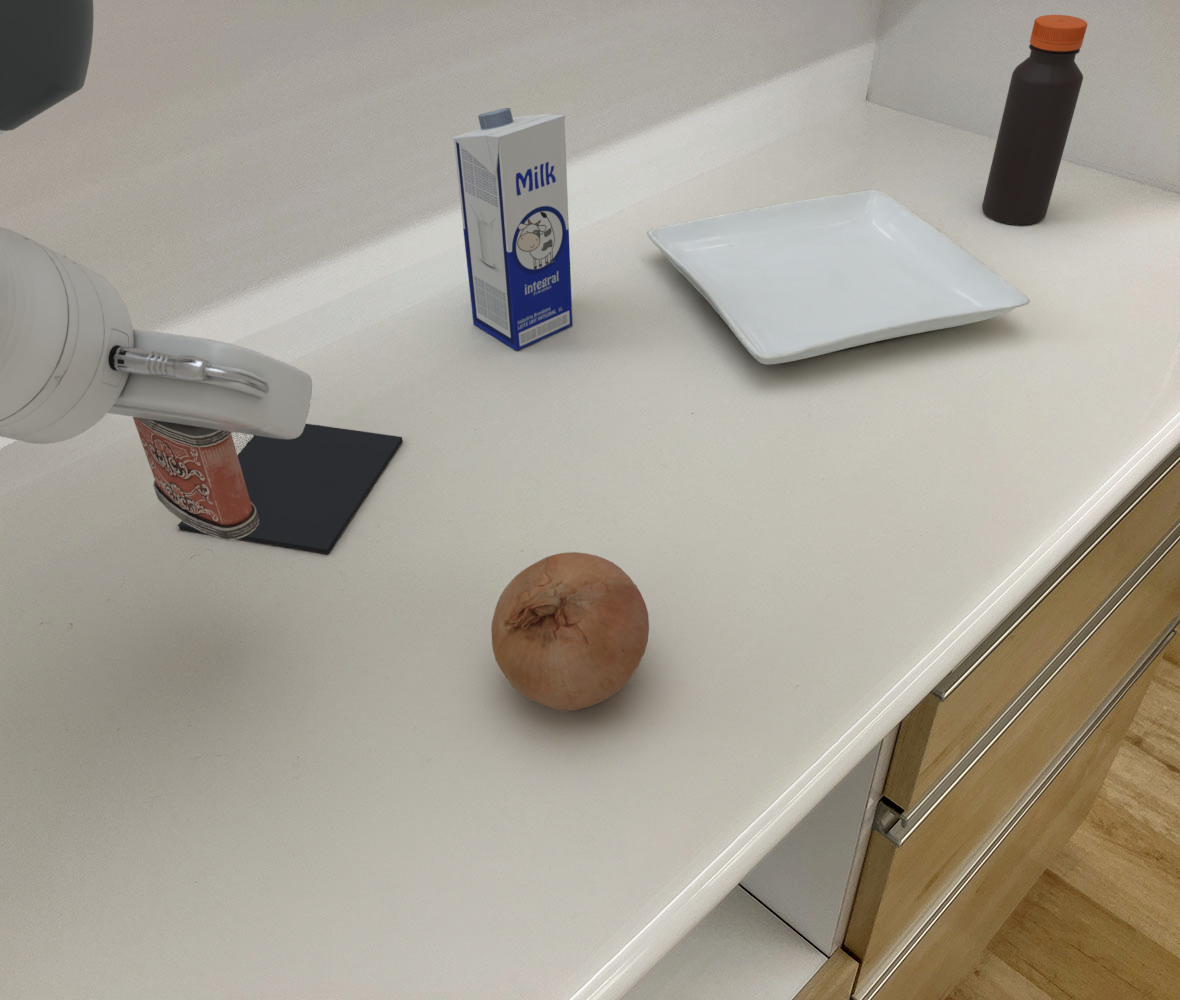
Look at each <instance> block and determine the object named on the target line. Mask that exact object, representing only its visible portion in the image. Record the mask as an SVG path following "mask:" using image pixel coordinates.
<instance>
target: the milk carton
mask: <svg viewBox="0 0 1180 1000" xmlns="http://www.w3.org/2000/svg"><path fill="white" fill-rule="evenodd" d="M477 118H478V122H479V125H480V128H477V129H474V130H470V131H467V132H465V133H462V134H458V135H455V136H452V139H453V147H454V155H455V165H456V174H457V181H458V184H457V185H458V190H459V191H458V192H459V203H460V212H461V221H462V229H463V231H462V232H463V238H464V249H465V258H466V267H467V268H466V269H467V276H468V285H469V297H470V305H471V306H470V307H471V315H472V323H473V326H475V325H476V326H475V327H476V328H478V329H480V330H481V331H483V332H485V333H486V334H488V335H490V336H491V337H493V338H495V339H496V340H498V341H500V342H501V343H503V344H504V345H506V346H508V347H509V348H511V349H513V351H515V352H518V351H520V350H522V349H524V348H527V347H529V346H531V345H533V344H535V343H538V342H539V341H542V340H545V339H546V338H549V337H550V336H553V335H555V334H557V333H560V332H562V331H563V330H566V329H568V328H571V327H573V301H572V277H571V254H570V253H571V252H570V226H569V201H568V200H569V199H568V175H567V172H568V171H567V148H566V147H567V143H566V121H565V120H566V115H565V114H553V113H543V114H542V113H541V114H532V115H521V116H515V117H513V115H512V110H511V107H505V108H501V109H495V110H492V111H491V110H490V111H488V112H485V113H481V114H479V115H477Z"/></svg>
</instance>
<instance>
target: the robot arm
mask: <svg viewBox="0 0 1180 1000" xmlns="http://www.w3.org/2000/svg"><path fill="white" fill-rule="evenodd" d="M94 18H95V17H94V0H0V136H2V135H3V134H4V133H6V132H7V131H8V132H9V131H13V130H16V129H17V128H19V127H20V126H21V127H22V126H23V125H24V124H25V123H27V122H29V121H31V120H32V119H34V118H36V117H37V116H39V115H40V114H42V113H44V112H45V111H47V110H49V109H50V108H52V107H54V106H55V105H57V104H58V103H60V102H62V101H64V100H65V99H67V98H68V97H70V96H73V95H74V94H75V93H77V92H79V91H80V90H81V89H83V87H84V86H85V82H86V78H87V74H88V69H89V65H90V58H91V54H92V48H93V47H92V45H93V37H94ZM312 391H313V380H312V377H311V376H310V374H309V373H307V371H304V370H303V369H300V368H299V367H296V366H294V365H292V364H289V363H286V362H284V361H281V360H279V359H276V358H274V357H271V356H269V355H267V354H264V353H262V352H259V351H255V350H254V349H249V348H246V347H243V346H241V345H237V344H233V343H228V342H224V341H220V340H214V339H209V338H205V337H198V336H191V335H190V336H189V335H182V334H175V333H168V332H167V333H166V332H161V331H153V330H146V329H145V330H144V329H138V328H133V324H132V319H131V315H130V313H129V310H128V307H127V305H126V302H125V300H124V299H123V297H122V295H121V294H120V292H119V291H118V290H117V289H116V287H115V285H113V284H112V282H110V281H109V280H108V279H107V278H106V277H105V276H103V275H102V274H101V273H99V272H98V271H96V270H95V269H93V268H91V267H88V266H87V265H85V264H83V263H81V262H78V261H77V260H74V259H72V258H70V257H68V256H66V255H64V254H62V253H61V252H59V251H56V250H54V249H52V248H50V247H48V246H46V245H44V244H42V243H40V242H38V241H36V240H34V239H32V238H30V237H28V236H25V235H24V234H22V233H20V232H17V231H14V230H12V229H10V228H7V227H2V226H0V437H1V438H5V439H10V440H14V441H19V442H22V443H27V444H34V445H35V444H36V445H49V444H55V443H60V442H64V441H67V440H70V439H73V438H74V437H78V436H80V435H81V434H83V433H85V432H86V431H88V430H89V429H91V428H93V427H94V426H95V425H96V424H97V423H98V422H100V421H101V420H102V419H103V418H104V417H105V416H106V415H107V414H111V415H119V416H123V417H125V416H126V417H131V418H133V417H137V418H144V419H151V420H157V421H164V422H170V423H177V424H184V425H190V426H197V427H204V428H210V429H217V430H223V431H230V432H232V433H238V434H243V435H250V436H254V435H256V436H263V437H270V438H277V439H287V440H288V439H295V438H297V437H299V436H300V435H301V434H302V432H303V430H304V427H305V424H307V420H308V416H309V411H310V406H311V400H312V395H313V393H312Z"/></svg>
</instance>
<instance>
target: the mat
mask: <svg viewBox="0 0 1180 1000" xmlns="http://www.w3.org/2000/svg"><path fill="white" fill-rule="evenodd" d="M403 442H404V440H403V436H399V435H391V434H384V433H377V432H369V431H363V430H362V431H360V430H355V429H348V428H339V427H335V426H334V427H333V426H326V425H320V424H312V423H306V424H305V427H304V430H303V432H302V434H301V435H300V436H299V437H297V438H295V439H288V440H287V439H277V438H270V437H263V436H256V435H252V437H251V438H250V440H249V441H248V442H247V443H246V444H245V445H244V446H243V448H242V449H241V450H240V451H239V453H237V456H238V459H239V463H240V466H241V470H242V473H243V477H244V481H245V484H246V488H247V491H248V495H249V498H250V501H251V502H252V503H253V504H254V506H255V508H256V510H257V514H258V517H259V524H258V526H257V527H256V529H255V530H254V531H253V532H251V533H250V534H248V535H246V536H244V537H242V538H239V539H237V540H238V541H244V542H251V543H257V544H261V545H262V544H263V545H269V546H273V547H274V546H275V547H280V548H287V549H292V550H293V549H294V550H299V551H305V552H311V553H317V554H323V555H329V554H330V553H331V551H332V549H334V547H335V545H336V543H337V542H338V540H339V539H340V538H341V536H342V534H343V533H344V531H345V530H346V528H347V527H348V525H349V524H350V523H351V521H352V519H353V518H354V517H355V515H356V513H357V512H358V510H359V509H360V507H361V506H362V504H363V503H364V501H365V500H366V498H367V496H368V495H369V494H370V492H371V491H372V490H373V487H374V486H375V484H376V483H377V482H378V480H379V479H380V477H381V476H382V474H383V472H384V471H385V470H386V468H387V466H388V465H389V463H390V462H391V461H392V459H393V457H394V456H395V454H396V453H397V451H398V450H399V448H400V447H401V445H402V444H403ZM177 526H178V530H179V531H185V532H190V533H198V534H203V535H209V534H207V533H204V532H201V531H199V530H198V529H196V528H194V527H192V526H190V525H188V524H186V523H184V522H183V521H181V520H180V522H179V523H178V524H177Z"/></svg>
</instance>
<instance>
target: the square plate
mask: <svg viewBox="0 0 1180 1000" xmlns="http://www.w3.org/2000/svg"><path fill="white" fill-rule="evenodd" d="M646 234H647V236H648V238H649V240H650V241H651V242H652V243H653V244H654V245H655V246H656V248H658V249H659V250H660V252H661V253H662V255H664V257H665V258H666V259H667V260H668V262H670V263H671V264H672V265H673V267H674V268H675V269H676V270H677V272H679V273H680V274H681V275H682V276H683V277H684V278H685V279H686V280H687V281H688V282H689V283H690V284H691V285H692V286H693V288H694V289H696V290H697V292H698V293H699V294H700V295H701V296H702V297H703V298H704V299H705V300H706V302H708V303H709V305H710V306H711V307H712V308H713V309H714V311H715V312H716V314H718V316H719V317H720V318H721V319H722V321H724V323H725V324H726V325H727V327H728V328H729V329H730V330H731V332H732V333H733V335H734V336H735V337H736V339H738V341H739V342H740V343H741V344H742V346H743V347H744V348H745V349H746V350H747V352H748V353H749V354H750V355H751V356H752V357H753V358H754V359H755V360H756V362H759V363H760V364H763V365H779V364H784V363H790V362H795V361H800V360H805V359H809V358H813V357H817V356H821V355H825V354H831V353H834V352H838V351H842V350H845V349H849V348H850V349H851V348H854V347H858V346H863V345H868V344H872V343H877V342H880V341H885V340H890V339H891V340H892V339H895V338H900V337H905V336H910V335H916V334H921V333H928V332H932V331H938V330H943V329H949V328H954V327H961V326H965V325H969V324H974V323H977V322H982V321H986V320H989V319H992V318H993V319H994V318H997V317H999V316H1002V315H1005V314H1007V313H1009V312H1011V311H1013V310H1015V309H1016V308H1021V307H1024V306H1026V305H1028V304H1029V303H1030V298H1029V297H1028V296H1027V295H1026V294H1024V293H1023V292H1022V291H1021V290H1019V289H1018V288H1017V287H1015V285H1013V284H1011V283H1010V282H1009V281H1008V280H1006V278H1004V277H1002V275H1000V274H998V273H997V272H996V271H995V270H993V268H991V267H989V266H988V265H987V264H986V263H984V262H983V261H981V260H980V259H979V258H977V257H976V256H975V255H973V254H972V253H970V252H969V251H967V249H965V248H964V247H962V246H961V245H959V244H958V243H956V241H954V240H953V239H951V238H949V237H948V236H947V235H946V234H944V233H943V232H941V231H940V230H939V229H938V228H936V227H934V226H933V225H932V224H930V223H929V222H927V221H926V220H925V219H923V218H922V217H920V216H919V215H918V214H916V213H914V212H913V211H911V210H910V209H909V208H907V207H905V206H904V205H903V204H902V203H900V202H899V201H897V200H895V199H894V198H892V197H891V196H889V195H888V194H886V193H885V192H883V191H881V190H879V189H871V188H870V189H864V190H863V189H862V190H857V191H853V192H852V191H851V192H846V193H840V194H834V195H825V196H821V197H820V196H819V197H812V198H807V199H800V200H793V201H790V202H784V203H778V204H777V203H776V204H772V205H767V206H760V207H755V208H750V209H745V210H744V209H743V210H739V211H733V212H729V213H723V214H718V215H712V216H707V217H702V218H698V219H693V220H688V221H683V222H678V223H673V224H668V225H663V226H659V227H654V228H651V229H649V230H647V231H646Z"/></svg>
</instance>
